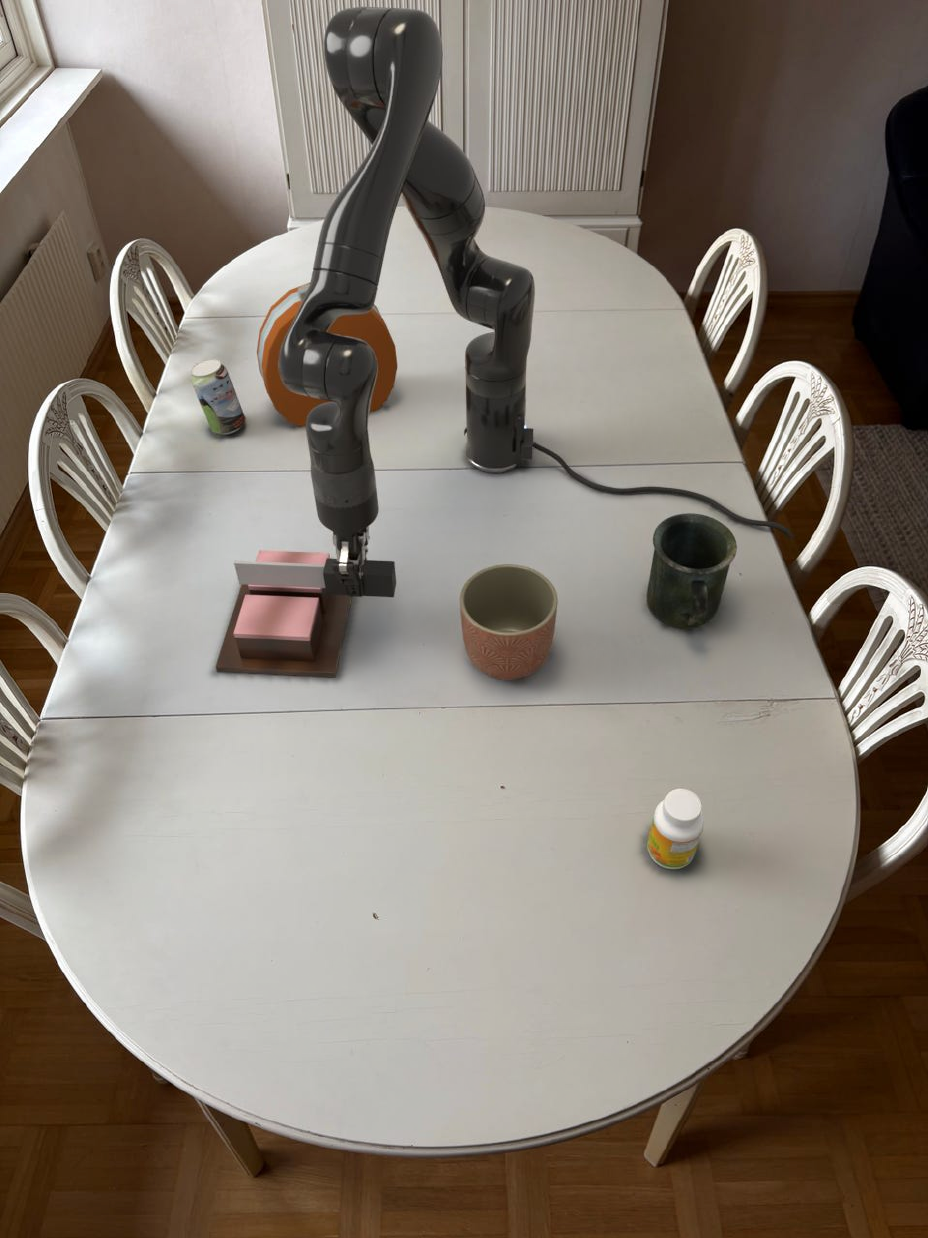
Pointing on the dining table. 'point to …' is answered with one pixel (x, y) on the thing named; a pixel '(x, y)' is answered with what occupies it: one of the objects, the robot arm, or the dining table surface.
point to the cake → (285, 626)
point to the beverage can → (217, 396)
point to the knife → (318, 576)
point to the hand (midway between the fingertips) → (358, 584)
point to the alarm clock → (355, 326)
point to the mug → (689, 569)
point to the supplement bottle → (676, 829)
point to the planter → (508, 620)
